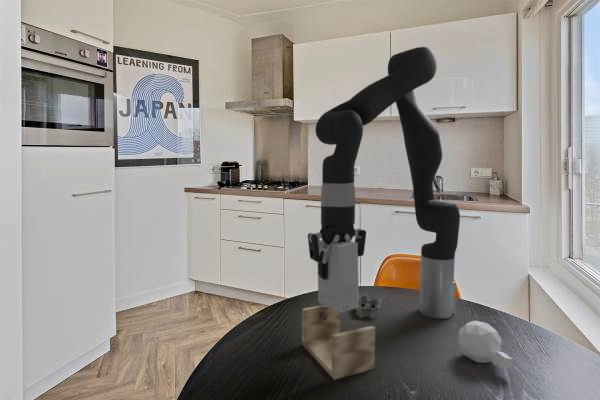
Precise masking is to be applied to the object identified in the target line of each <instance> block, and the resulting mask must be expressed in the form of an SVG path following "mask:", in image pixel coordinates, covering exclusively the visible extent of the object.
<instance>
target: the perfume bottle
mask: <svg viewBox="0 0 600 400" xmlns="http://www.w3.org/2000/svg"><path fill="white" fill-rule="evenodd" d="M457 344H458V346H459V348H460V349H461V350H460V351H461V352H462V353H463V355H464V356H465V357H467V358H469V359H470V360H471V361H474V362H476V363H481V364H485V363H486V364H487V363H491V362H493V363H494V364H495V365H497V366H498V367H499V368H500V369H509V368H510V365H511V363H512V361H513V358H512V357H510V356H509V355H508V354H506V353H505V352H503V351H502V339H501V337H500V334H499V333H498V331H497V330H496V329H495V328H494V327H493V326H491V325H490V324H489V323H488V322H487V323H486V322H482V321H479V320H472V321H469V322H467V323H465V325H463V327H460V329H459V330H458V337H457Z"/></svg>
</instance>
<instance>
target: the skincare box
mask: <svg viewBox="0 0 600 400" xmlns="http://www.w3.org/2000/svg"><path fill="white" fill-rule="evenodd" d="M322 244H323V247H324V248H325V249H327V248H328V245H327V244H325V243H324V242H323V240H322V239H320V242H319V243H318V246H319V253H320V248H321V245H322ZM316 263H317V264H318V262H316ZM326 263H327V264H328V278H327V279H326V280H323V279H322V278H321V277H320V276H319V274H318V273H317V288H318V289H317V292H318V294H317V295H318V303H320V304H321V305H326V306H328V307H330V308H332V309H334V310H336V311H338V312H340V313H344V312H346V311H351V310H355V309H356V308H358V307H359V292H360V291H359V289H360V288H359V287H360V286H359V257H358V243H356V242H355V241H351V242H339V243H336V244H332V246H331V254H330V256H329V258H328V260H327V262H326Z"/></svg>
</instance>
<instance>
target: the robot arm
mask: <svg viewBox="0 0 600 400" xmlns="http://www.w3.org/2000/svg"><path fill="white" fill-rule="evenodd" d="M437 63H438V62H437V58H436V55H435V53H434V51H432V49H431V48H429V47H426V46H420V47H414V48H411V49H407V50H404V51H402V52H398V53H396V54H393V55H392V56H390V58H389V60H388V63H387V75H386V76H383V78H380V79H378V80H375V81H374V82H373V83H370V84H369V85H367V86H366V87H364V88H362V89H361V90H360V91H359V92H357V93H356V94H354V95H353V96H352V97H351V98H350V99H348V100H347V101H345V102H343V103H340V104H338V105H336V106H334V107H333V108H330V109H329V110H327V111H325V112H324V113H323V114H322V115H321V116H320V117H319V118H318V120H317V121H316V125H315V134H316V138H317V139H318V140H319V141H320V142H321V143H323V144H325V145H330V146H334V145H335V147H334V152H333V153H332V154H331V155H328V156H326V157H324V159H323V161H322V168H321V169H322V172H321V173H322V174H321V175H322V181H321V190H320V191H321V192H320V226H321V228H320V231H318V232H314V233H312V232H309V233H307V241H308V251H309V258H310V259H311V260H313V261H315V262H316V263H317V262H318V263H317V275H318V274H319V276H320V277H321V278H322V279H323V280H326V279H327V278H328V264H327V263H326V262H327V260H328V258H329V256H330V254H331V246H332V244H336V243H339V242H352V240H353V238H354V242H356V243H358V258H359V257H362V256H364V254H365V246H366V239H367V231H366V230H365V229H361V228H357V229H355V227H354V226H355V223H356V221H355V219H356V188H355V164H356V161H357V157H358V155H359V154H358V153H359V149H360V146H361V143H362V139H363V134H364V126H366V125H368V124H370V123H371V122H373V120H375V119H376V118H377V117H379V115H381V114H382V113H383V112H384V111H385V110H387V109H388V108H389V107H391V106H392V105H393V104H394V103H395V105H396V109H397V111H398V117H399V120H400V125H401V130H402V135H403V140H404V142H403V143H404V147H405V152H406V158H407V161H408V166H409V171H410V178H411V183H412V190H413V192H412V193H413V200H414V214H415V220H416V222H417V223H416V224H417V225H418V227H419V228H420V229H421V230H423V231H425V232H430V233H435V234H436V237H435V240H434V241H433V242H429V243H424V244H423V245H422V246H421V249H420V251H421V252H420V273H419V274H420V277H419V278H420V279H419V280H420V281H419V303H418V304H419V309H418V310H419V311H418V312H419V313H420V314H421V315H423V316H425V317H428V318H431V319H438V320H439V319H440V320H441V319H442V320H445V319H450V318H451V317H452V316H453V315H454V314H456V313H455V312H456V295H457V294H456V293H457V282H456V281H454V280H455V259H456V252H457V248H458V242H459V233H460V225H461V224H460V223H461V214H460V210H459V207H458V205H457V204H455V203H454V202H450V201H449V202H448V201H440V200H435V197H434V189H433V183H434V180H435V177H436V174H437V172H438V170H439V168H440V166H441V163H442V160H443V149H442V148H443V147H442V142H441V138H440V132H439V131H438V128H437V126H436V125H435V124H434V123H433V122H432V120H431V119H430V118H429V117H428V115H426V114H425V113H424V111H423V110H422V108H421V107H420V104H419V103H418V101H417V98H416V95H415V91H414V90H415V89H418V88H420V87H421V86H423V85H426V84H427V83H429V82H430V81H432V80H433V79H434V78H435V75H436V72H437V67H438V66H437V65H438V64H437ZM321 240H323V242H324V243H325V244H327V245H328V248H327V249H325V248H324V247H323V244H322V245H321V248H320V253H319V246H318V243H319V242H320V241H321Z"/></svg>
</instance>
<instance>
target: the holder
mask: <svg viewBox="0 0 600 400" xmlns="http://www.w3.org/2000/svg"><path fill="white" fill-rule="evenodd" d="M301 345H302V347H304V348H305V350H306V351H307V352H308V353H309V354H310V355H311V356H312V357H313V358H314V360H315V361H316V362H318V364H319V365H320V366H321V367H322V368H323V370H325V371H326V373H327V374H328V375H329V376H330V377H331V378H332V379H333V380H334V381H335V380H338V379H342V378H346V377H349V376H354V375H356V374H360V373H363V372H367V371H371V370H373V369H375V364H376V363H375V360H376V359H375V356H376V327H375V326H373V325H370V326H365V327H359V328H355V329H351V330H347V331H343V332H342V331H341V312H338V311H336V310H334V309H332V308H330V307H328V306H326V305H324V304H321V305H315V306H310V307H304V308H301Z"/></svg>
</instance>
